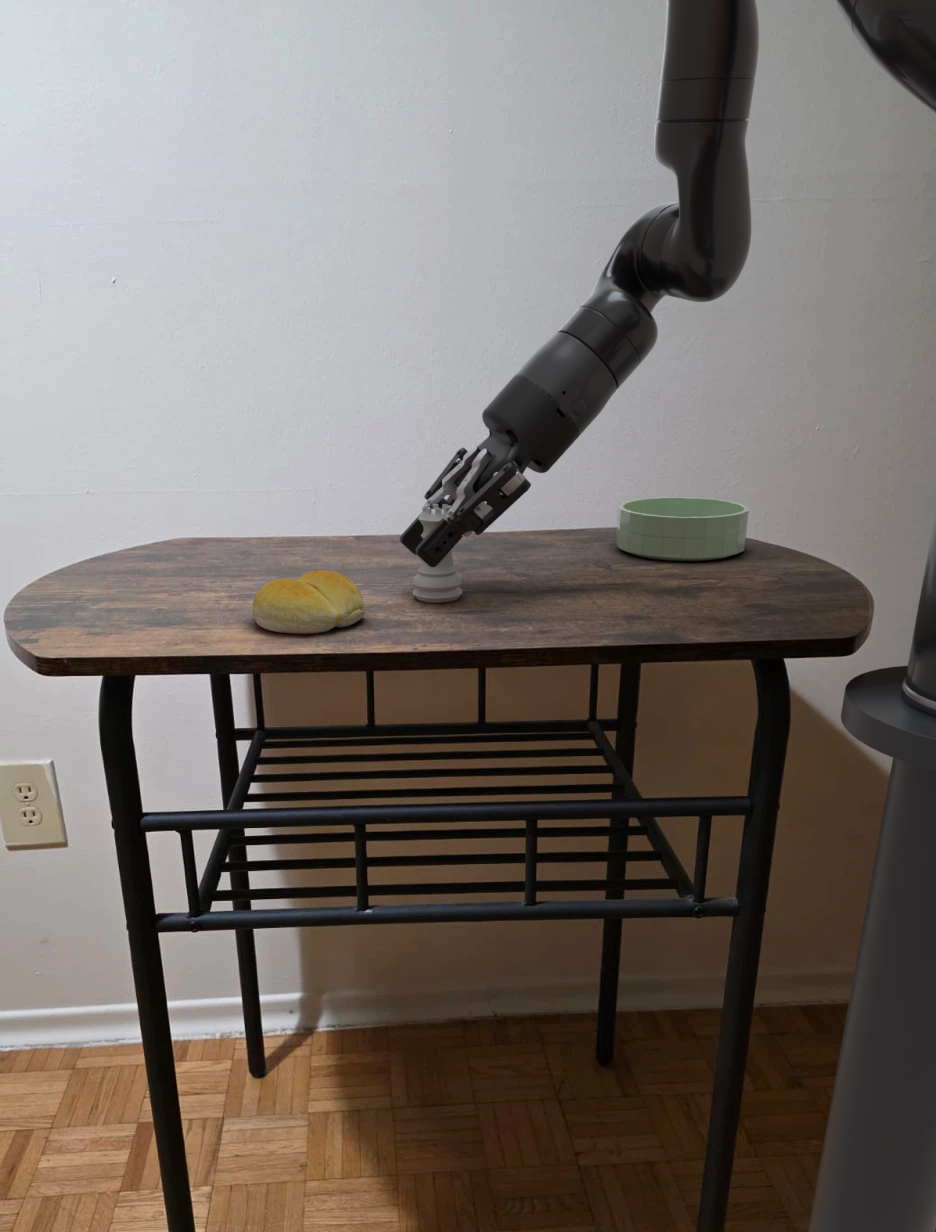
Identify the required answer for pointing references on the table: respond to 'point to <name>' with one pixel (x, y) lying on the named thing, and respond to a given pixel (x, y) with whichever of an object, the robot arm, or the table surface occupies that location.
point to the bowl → (682, 528)
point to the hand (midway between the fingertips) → (415, 553)
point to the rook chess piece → (442, 578)
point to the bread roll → (308, 603)
